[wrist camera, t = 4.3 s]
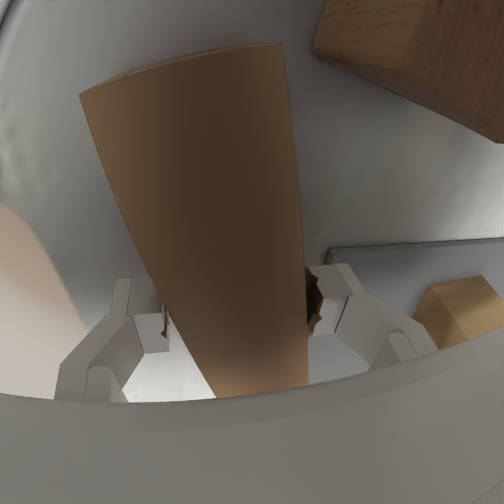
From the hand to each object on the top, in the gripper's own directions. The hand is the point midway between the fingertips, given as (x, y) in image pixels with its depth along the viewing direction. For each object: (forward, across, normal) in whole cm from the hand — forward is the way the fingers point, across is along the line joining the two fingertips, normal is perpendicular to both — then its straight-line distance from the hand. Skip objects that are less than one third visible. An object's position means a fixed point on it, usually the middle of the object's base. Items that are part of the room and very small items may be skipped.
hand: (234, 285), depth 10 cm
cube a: (+1, -13, +5) cm, 14 cm away
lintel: (+2, 0, 0) cm, 2 cm away
